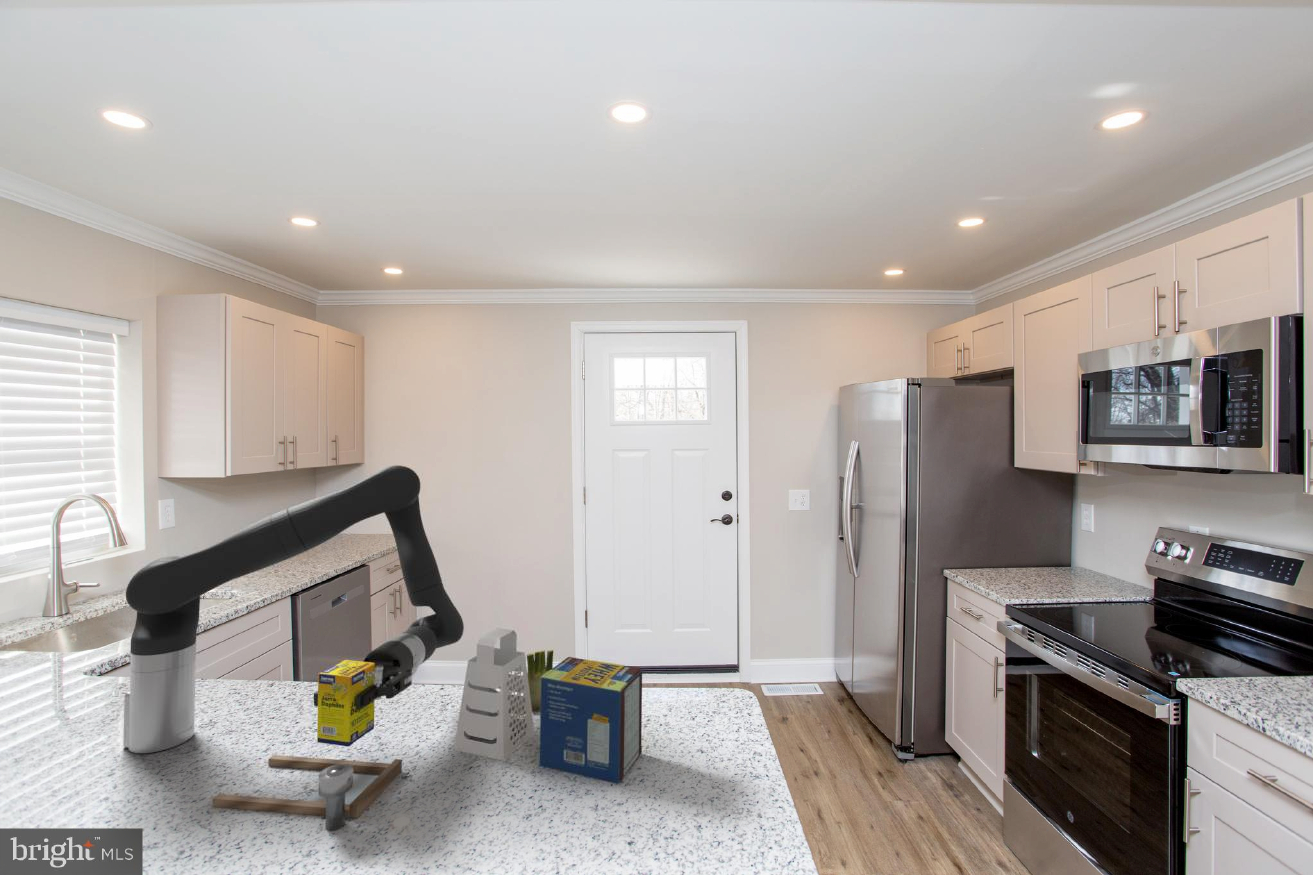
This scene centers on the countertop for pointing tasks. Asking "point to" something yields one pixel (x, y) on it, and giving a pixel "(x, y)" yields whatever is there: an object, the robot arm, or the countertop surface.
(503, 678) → the grater
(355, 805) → the bay
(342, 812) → the grey bolt
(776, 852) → the countertop surface
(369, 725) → the supplement box
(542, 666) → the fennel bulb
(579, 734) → the protein box
